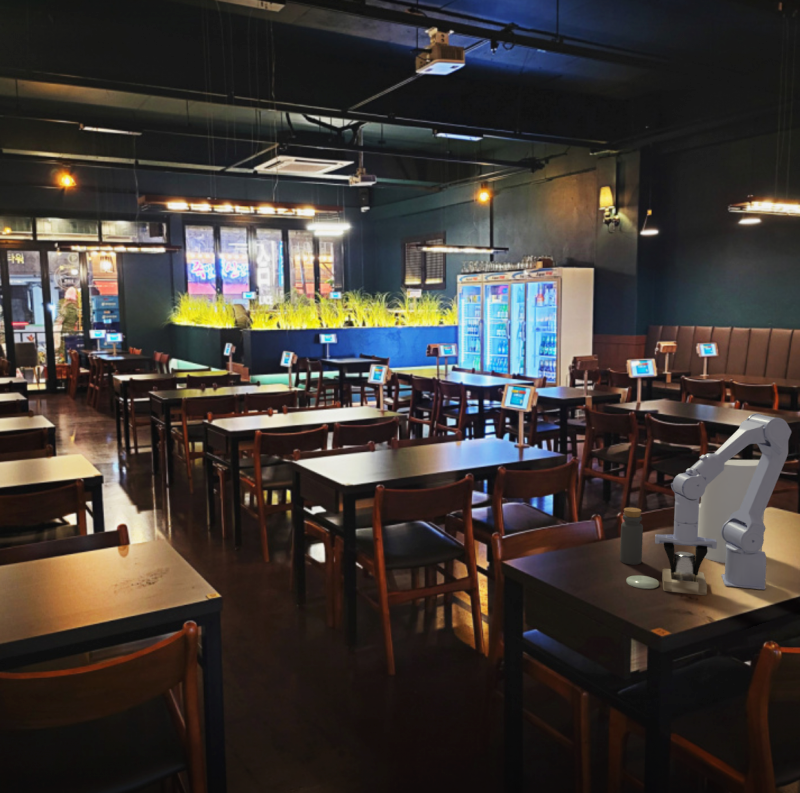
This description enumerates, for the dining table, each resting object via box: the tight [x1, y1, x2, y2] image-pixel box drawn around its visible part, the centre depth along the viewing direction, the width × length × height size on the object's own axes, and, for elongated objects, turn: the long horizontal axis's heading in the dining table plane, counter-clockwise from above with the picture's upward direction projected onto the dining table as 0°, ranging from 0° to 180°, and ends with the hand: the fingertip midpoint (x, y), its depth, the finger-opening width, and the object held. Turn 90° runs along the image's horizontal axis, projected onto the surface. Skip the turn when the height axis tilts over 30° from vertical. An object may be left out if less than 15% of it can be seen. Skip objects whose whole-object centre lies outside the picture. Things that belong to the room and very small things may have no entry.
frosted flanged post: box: [673, 551, 695, 582], centre depth 186 cm, size 5×5×8 cm
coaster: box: [626, 575, 660, 590], centre depth 188 cm, size 8×8×1 cm
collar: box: [661, 568, 708, 596], centre depth 186 cm, size 10×10×2 cm
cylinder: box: [698, 459, 765, 564], centre depth 210 cm, size 17×17×28 cm
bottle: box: [619, 507, 644, 566], centre depth 205 cm, size 6×6×15 cm
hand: (684, 572), depth 186 cm, fingers closed on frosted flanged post, 5 cm apart
